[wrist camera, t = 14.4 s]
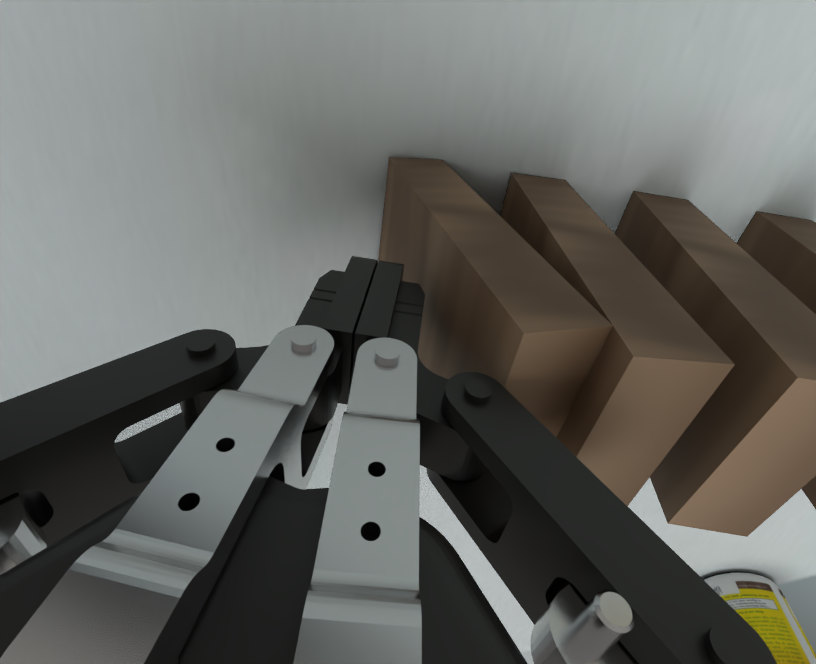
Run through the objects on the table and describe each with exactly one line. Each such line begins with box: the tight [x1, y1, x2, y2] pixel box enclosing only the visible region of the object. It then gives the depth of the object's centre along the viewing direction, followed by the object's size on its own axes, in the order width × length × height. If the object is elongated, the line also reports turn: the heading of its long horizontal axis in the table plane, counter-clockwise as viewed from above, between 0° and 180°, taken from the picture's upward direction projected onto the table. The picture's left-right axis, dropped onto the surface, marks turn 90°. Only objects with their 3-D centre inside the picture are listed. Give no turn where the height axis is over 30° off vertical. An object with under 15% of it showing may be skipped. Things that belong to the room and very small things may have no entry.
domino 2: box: [500, 173, 735, 506], centre depth 14 cm, size 2×5×10 cm, turn 173°
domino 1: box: [379, 157, 613, 438], centre depth 14 cm, size 2×5×10 cm, turn 173°
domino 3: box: [615, 191, 816, 536], centre depth 14 cm, size 2×5×10 cm, turn 172°
